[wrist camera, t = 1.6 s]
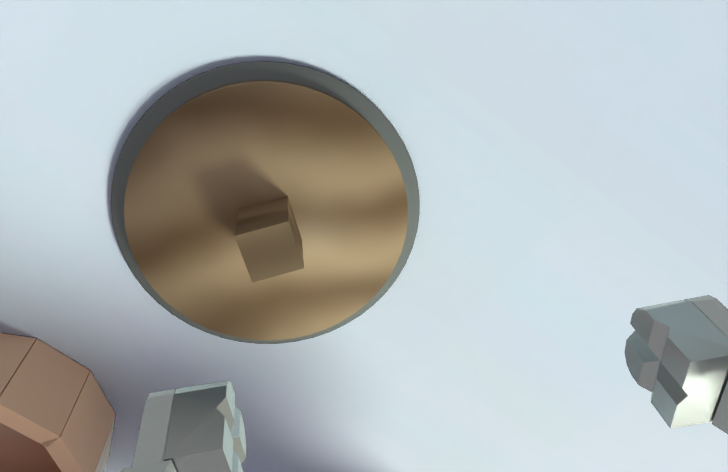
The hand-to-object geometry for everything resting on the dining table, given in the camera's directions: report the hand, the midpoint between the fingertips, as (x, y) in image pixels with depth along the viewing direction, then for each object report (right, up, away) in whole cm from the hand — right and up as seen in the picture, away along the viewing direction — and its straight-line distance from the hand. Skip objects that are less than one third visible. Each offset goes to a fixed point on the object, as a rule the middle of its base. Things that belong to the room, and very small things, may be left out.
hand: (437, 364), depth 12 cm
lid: (-8, +4, +27) cm, 28 cm away
